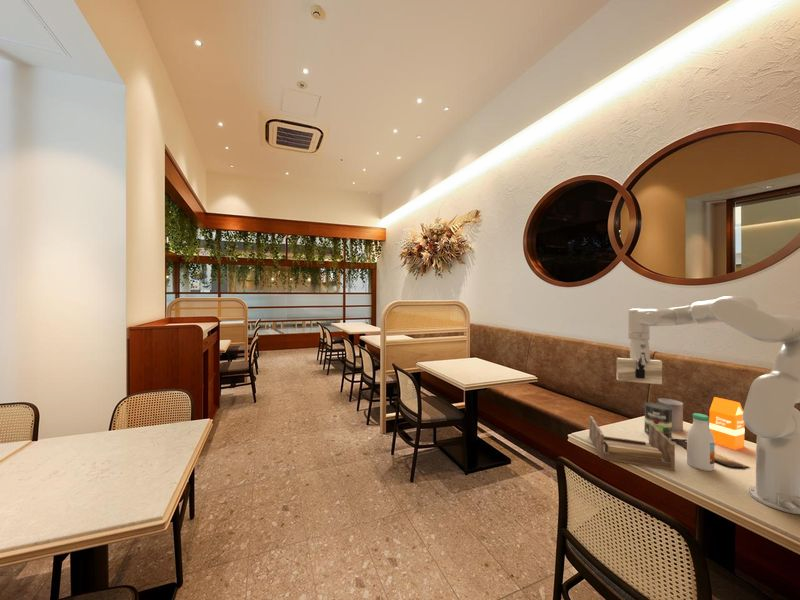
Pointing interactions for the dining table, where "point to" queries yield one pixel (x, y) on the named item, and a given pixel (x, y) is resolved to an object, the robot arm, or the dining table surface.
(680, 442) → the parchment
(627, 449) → the offcut upper
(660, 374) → the birch panel
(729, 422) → the orange juice
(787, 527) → the dining table surface
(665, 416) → the coffee can
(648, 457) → the offcut lower
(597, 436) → the rack
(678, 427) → the pillar candle
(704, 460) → the milk bottle
